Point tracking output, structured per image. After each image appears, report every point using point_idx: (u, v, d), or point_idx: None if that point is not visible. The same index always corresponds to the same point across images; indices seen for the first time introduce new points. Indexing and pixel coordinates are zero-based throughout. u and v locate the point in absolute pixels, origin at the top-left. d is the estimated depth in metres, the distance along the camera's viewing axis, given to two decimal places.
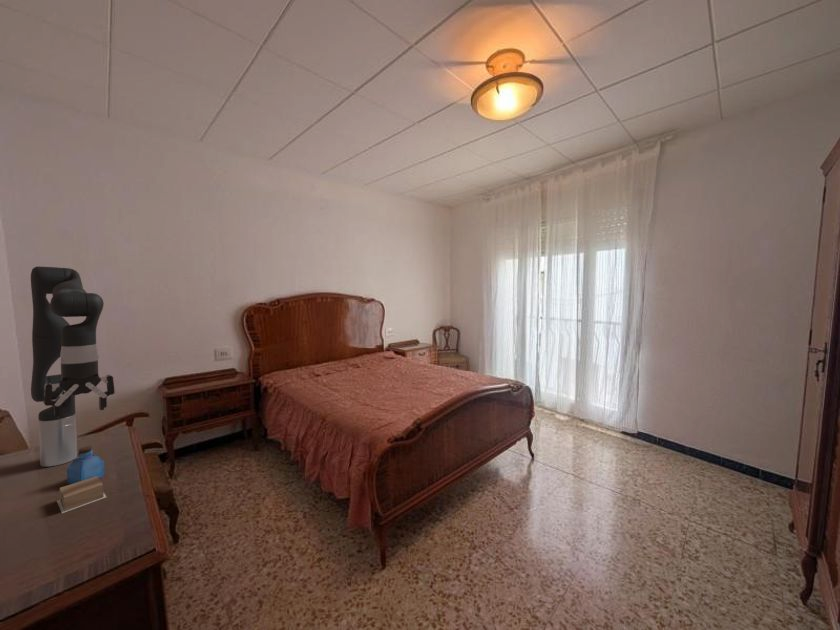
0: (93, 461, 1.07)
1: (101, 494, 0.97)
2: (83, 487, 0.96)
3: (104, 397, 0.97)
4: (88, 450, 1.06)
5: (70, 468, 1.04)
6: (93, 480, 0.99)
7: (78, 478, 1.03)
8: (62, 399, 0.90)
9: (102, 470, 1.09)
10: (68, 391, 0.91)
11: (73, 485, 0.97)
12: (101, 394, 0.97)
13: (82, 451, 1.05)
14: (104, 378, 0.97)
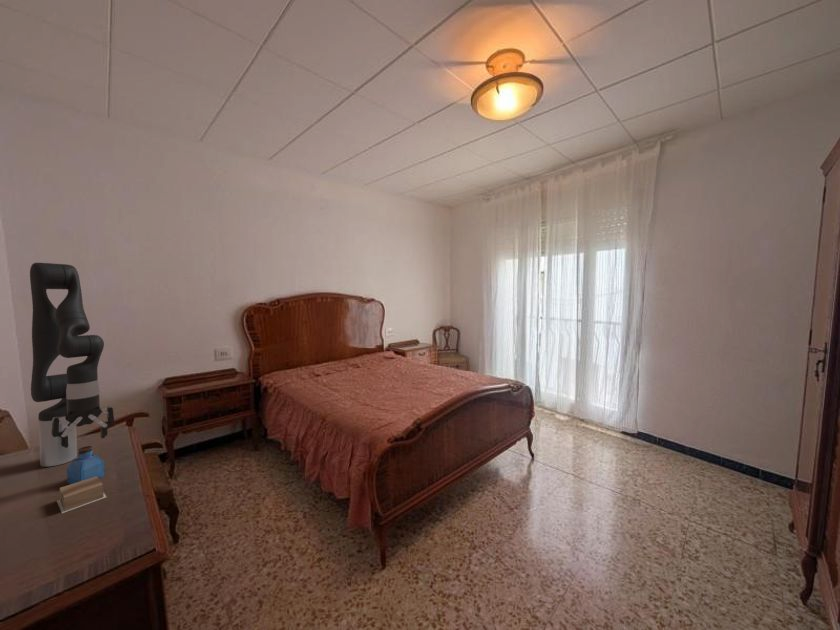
0: (93, 461, 1.06)
1: (101, 494, 0.97)
2: (83, 487, 0.96)
3: (105, 427, 1.09)
4: (88, 450, 1.06)
5: (70, 468, 1.04)
6: (93, 480, 0.99)
7: (78, 478, 1.03)
8: (68, 430, 1.02)
9: (102, 470, 1.09)
10: (73, 423, 1.03)
11: (73, 485, 0.97)
12: (102, 424, 1.09)
13: (82, 451, 1.05)
14: (105, 409, 1.09)
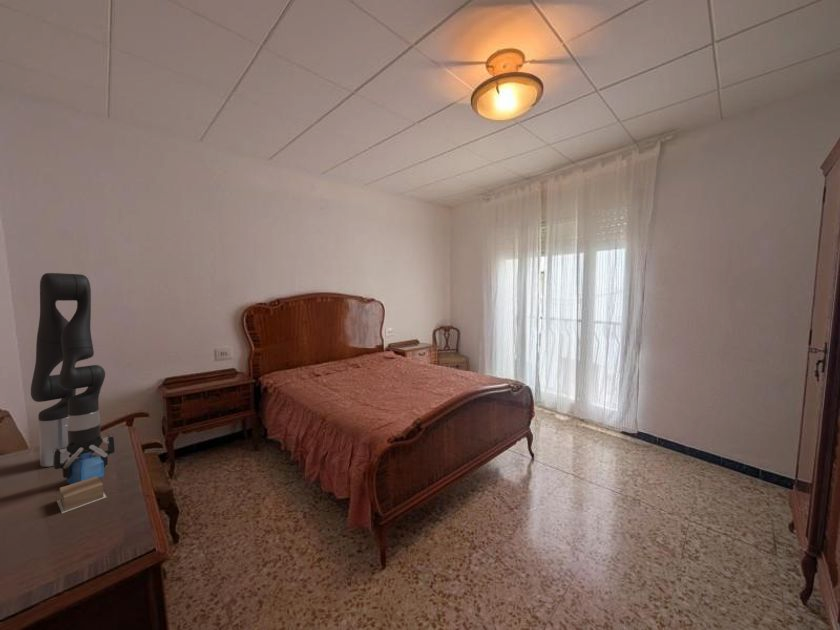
0: (93, 461, 1.06)
1: (101, 494, 0.97)
2: (83, 487, 0.96)
3: (105, 456, 1.10)
4: (88, 450, 1.06)
5: None
6: (93, 480, 0.99)
7: (77, 478, 1.03)
8: (69, 462, 1.03)
9: (102, 470, 1.09)
10: (74, 454, 1.03)
11: (73, 485, 0.97)
12: (102, 454, 1.09)
13: (82, 451, 1.05)
14: (106, 439, 1.10)
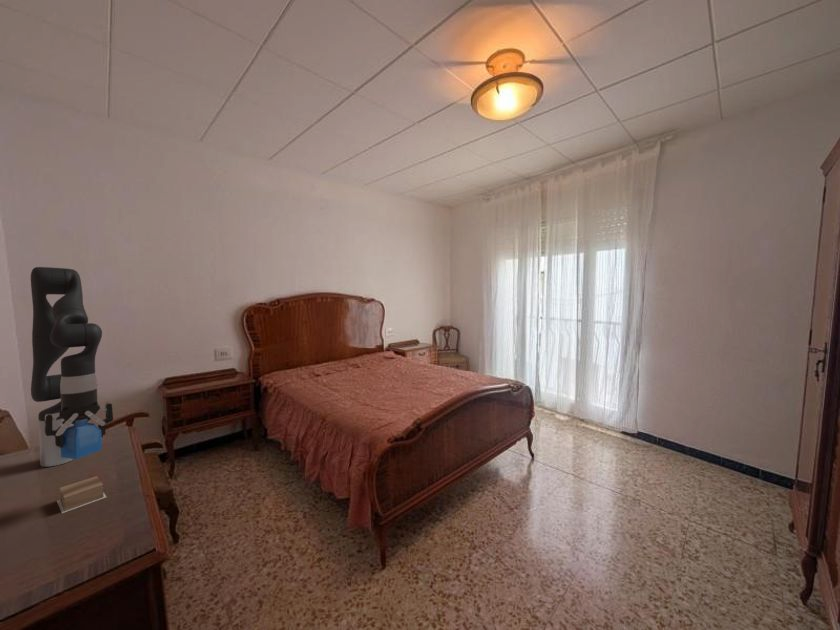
0: (89, 429, 0.96)
1: (101, 494, 0.97)
2: (83, 487, 0.96)
3: (103, 425, 0.99)
4: (84, 417, 0.95)
5: (63, 436, 0.93)
6: (93, 480, 0.99)
7: (72, 447, 0.93)
8: (63, 429, 0.92)
9: (99, 440, 0.98)
10: (68, 420, 0.93)
11: (73, 485, 0.97)
12: (100, 422, 0.98)
13: (77, 417, 0.94)
14: (103, 406, 1.00)
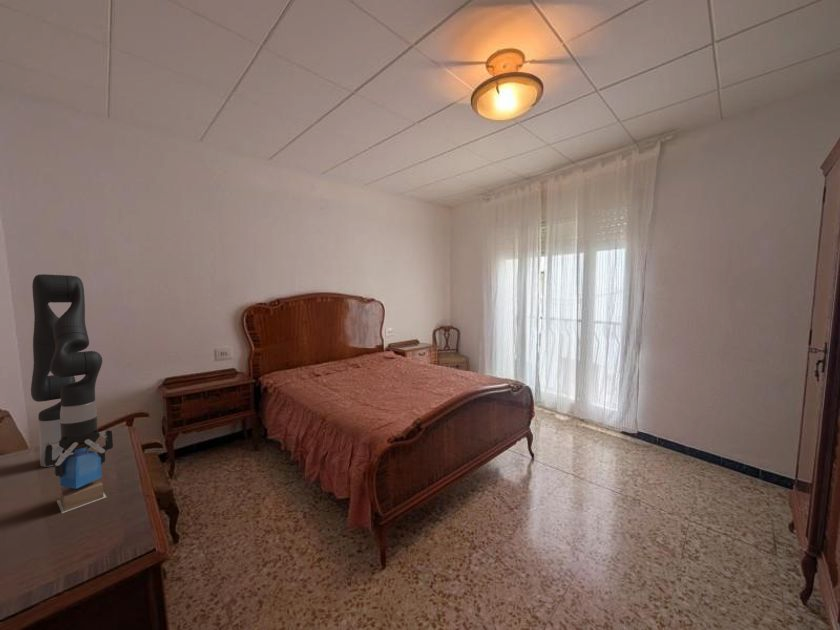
0: (89, 457, 0.96)
1: (101, 494, 0.97)
2: (83, 487, 0.96)
3: (102, 452, 0.99)
4: (83, 445, 0.95)
5: (63, 465, 0.93)
6: None
7: (71, 476, 0.93)
8: (62, 458, 0.92)
9: (99, 467, 0.98)
10: (68, 450, 0.92)
11: None
12: (99, 449, 0.98)
13: (77, 446, 0.94)
14: (103, 433, 0.99)
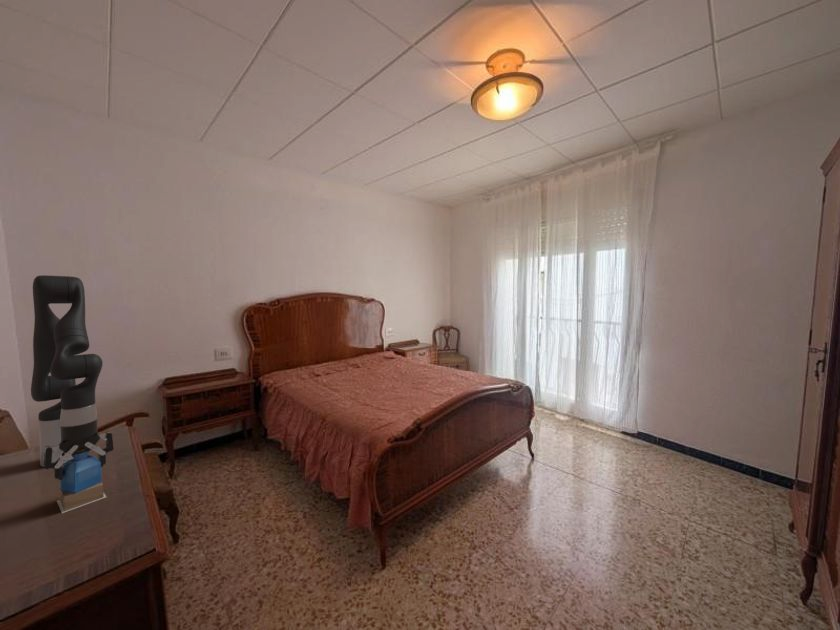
0: (89, 462, 0.96)
1: (101, 494, 0.97)
2: None
3: (103, 454, 0.99)
4: (83, 450, 0.95)
5: (63, 470, 0.93)
6: None
7: (71, 481, 0.93)
8: (62, 461, 0.92)
9: (99, 472, 0.98)
10: (68, 453, 0.92)
11: None
12: (100, 452, 0.98)
13: None
14: (103, 436, 0.99)
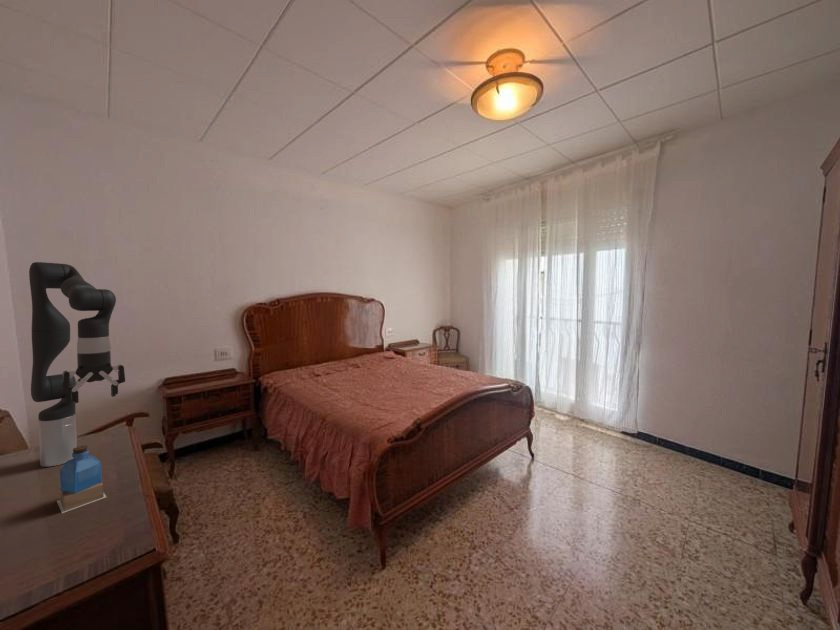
0: (89, 462, 0.96)
1: (101, 494, 0.97)
2: None
3: (116, 385, 1.06)
4: (83, 450, 0.95)
5: (63, 470, 0.93)
6: None
7: (71, 481, 0.93)
8: (78, 385, 0.99)
9: (99, 472, 0.98)
10: (84, 378, 1.00)
11: None
12: (113, 382, 1.06)
13: (76, 451, 0.94)
14: (116, 367, 1.06)
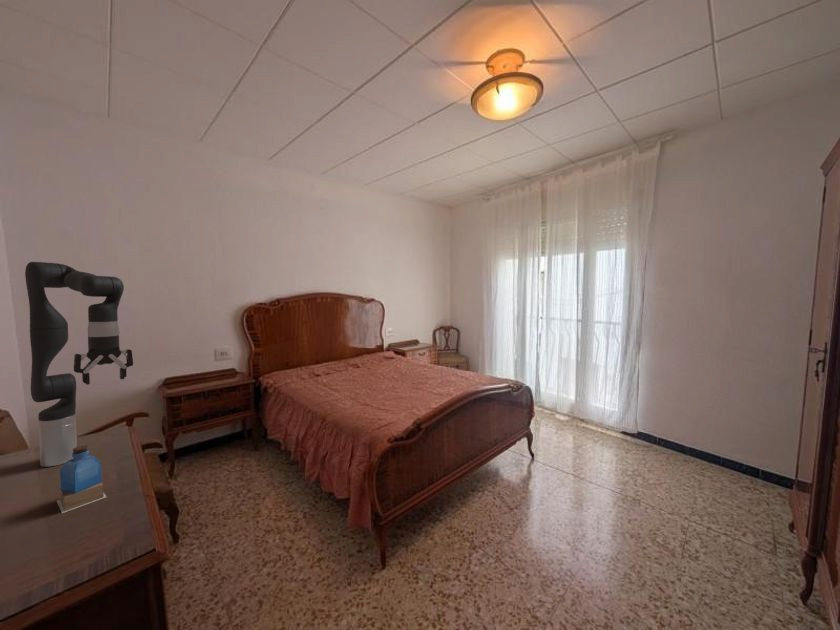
0: (89, 462, 0.96)
1: (101, 494, 0.97)
2: None
3: (124, 368, 1.11)
4: (83, 450, 0.95)
5: (63, 470, 0.93)
6: None
7: (71, 481, 0.93)
8: (89, 367, 1.04)
9: (99, 472, 0.98)
10: (94, 361, 1.05)
11: None
12: (122, 365, 1.11)
13: (76, 451, 0.94)
14: (124, 351, 1.11)
